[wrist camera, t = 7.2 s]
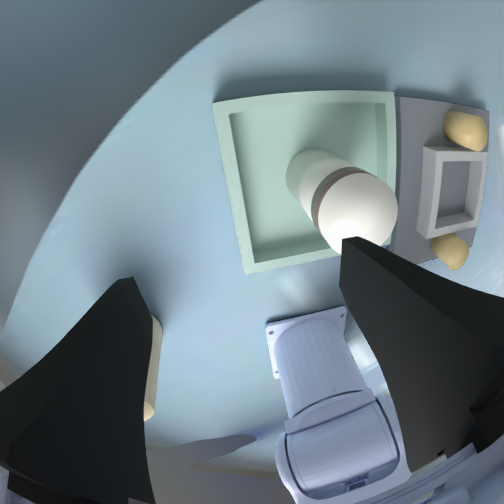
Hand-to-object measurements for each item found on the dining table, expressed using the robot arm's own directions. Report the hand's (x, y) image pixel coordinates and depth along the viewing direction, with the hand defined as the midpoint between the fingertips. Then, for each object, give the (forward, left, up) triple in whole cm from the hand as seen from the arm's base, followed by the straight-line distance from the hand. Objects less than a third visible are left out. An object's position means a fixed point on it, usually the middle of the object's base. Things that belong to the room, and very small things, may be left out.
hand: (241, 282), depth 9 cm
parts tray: (0, -6, -10) cm, 12 cm away
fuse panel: (-2, -19, -10) cm, 22 cm away
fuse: (0, -6, -10) cm, 11 cm away
